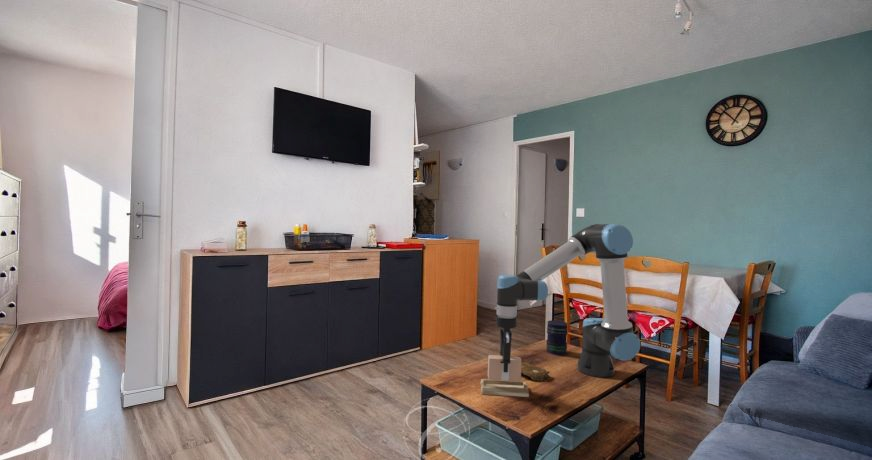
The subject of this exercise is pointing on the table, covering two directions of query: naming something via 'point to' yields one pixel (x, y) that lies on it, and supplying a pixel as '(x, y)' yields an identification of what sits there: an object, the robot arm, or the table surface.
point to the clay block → (496, 368)
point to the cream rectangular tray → (504, 388)
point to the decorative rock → (533, 372)
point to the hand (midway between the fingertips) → (504, 377)
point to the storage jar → (556, 337)
